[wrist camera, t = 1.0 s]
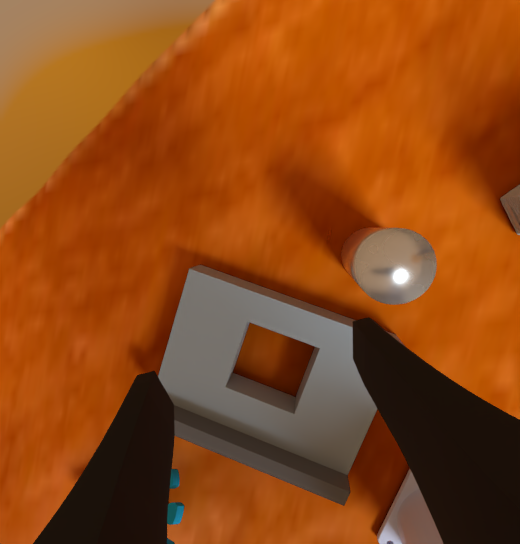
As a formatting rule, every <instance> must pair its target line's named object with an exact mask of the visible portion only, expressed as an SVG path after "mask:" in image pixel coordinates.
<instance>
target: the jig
mask: <svg viewBox="0 0 520 544" xmlns="http://www.w3.org/2000/svg"><path fill="white" fill-rule="evenodd" d="M353 321H356V320H354V319H351V318H348V317H345V316H343V315H340V314H337V313H334V312H331V311H329V310H326V309H323V308H320V307H318V306H315V305H312V304H309V303H306V302H304V301H301V300H298V299H295V298H292V297H290V296H287V295H284V294H281V293H278V292H276V291H273V290H270V289H267V288H264V287H262V286H259V285H256V284H253V283H251V282H248V281H245V280H242V279H239V278H237V277H234V276H231V275H228V274H225V273H223V272H220V271H217V270H214V269H211V268H209V267H206V266H203V265H198V266H195V267H192V268H189V272H188V275H187V278H186V282H185V285H184V289H183V292H182V296H181V299H180V303H179V306H178V309H177V313H176V316H175V320H174V323H173V327H172V330H171V334H170V337H169V341H168V344H167V347H166V351H165V354H164V358H163V361H162V365H161V368H160V372H159V375H158V378H159V380H160V381H161V383H162V385H163V386H164V388H165V390H166V392H167V393H168V395H169V397H170V399H171V400H172V402H173V404H174V425H175V436H177V437H180V438H182V439H184V440H187V441H189V442H192V443H194V444H196V445H199V446H201V447H204V448H206V449H208V450H211V451H213V452H216V453H218V454H221V455H223V456H225V457H228V458H230V459H233V460H235V461H237V462H240V463H242V464H245V465H247V466H249V467H252V468H254V469H257V470H259V471H261V472H264V473H266V474H269V475H271V476H274V477H276V478H278V479H281V480H283V481H286V482H288V483H290V484H293V485H295V486H298V487H300V488H302V489H305V490H307V491H310V492H312V493H315V494H317V495H319V496H322V497H324V498H327V499H329V500H331V501H334V502H336V503H339V504H341V505H343V506H344V505H345V503H346V501H347V498H348V496H349V494H350V487H349V481H348V473H349V471H350V469H351V467H352V464H353V462H354V460H355V458H356V455H357V453H358V451H359V449H360V447H361V444H362V442H363V440H364V438H365V435H366V433H367V431H368V429H369V426H370V424H371V422H372V420H373V418H374V415H375V413H376V411H377V407H376V405H375V403H374V402H373V400H372V398H371V396H370V395H369V393H368V391H367V389H366V387H365V386H364V384H363V381H362V379H361V377H360V375H359V372H358V370H357V367H356V365H355V363H354V360H353ZM249 323H253V324H255V325H258V326H261V327H264V328H266V329H269V330H272V331H274V332H277V333H280V334H282V335H285V336H288V337H291V338H293V339H296V340H299V341H301V342H304V343H307V344H309V345H312V346H315V348H314V350H313V353H312V355H311V358H310V361H309V363H308V366H307V368H306V371H305V374H304V376H303V379H302V381H301V384H300V386H299V389H298V392H297V394H296V397H294V396H292V395H289V394H287V393H284V392H281V391H279V390H276V389H274V388H271V387H269V386H266V385H263V384H261V383H258V382H256V381H253V380H251V379H248V378H245V377H243V376H240V375H238V374H235V373H233V370H234V367H235V364H236V361H237V358H238V355H239V352H240V350H241V347H242V344H243V341H244V338H245V335H246V332H247V329H248V326H249ZM388 333H389V334H390V335H391V336H393V337H394V338H395V339H396V340H398V341H399V342H400V343H401V344H403V343H402V342H401V341H400V339H399V338H398V337H397V336H396V334H393V333H390V332H388ZM403 345H404V344H403ZM404 346H405V345H404Z"/></svg>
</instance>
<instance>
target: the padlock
mask: <svg viewBox="0 0 520 544" xmlns="http://www.w3.org/2000/svg"><path fill="white" fill-rule="evenodd" d="M500 201H501V203H502V205H503V207H504V209H505V211H506V213H507V215H508V217H509V219H510V221H511V223H512V225H513V227H514V229H515V231H516V233H517V234H518V235H520V184H519V185H518V186H517V187H515V188H514V189H512V190H511V191H509V192H508V193H507V194H505V195H504V196H502V197H501V198H500Z"/></svg>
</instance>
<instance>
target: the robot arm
mask: <svg viewBox="0 0 520 544" xmlns="http://www.w3.org/2000/svg"><path fill="white" fill-rule="evenodd" d="M353 360H354V363H355V365H356V367H357V370H358V372H359V375H360V377H361V379H362V381H363V384H364V386H365V387H366V389H367V391H368V393H369V395H370V396H371V398H372V400H373V402H374V403H375V405H376V407H377V409H378V410H379V412H380V414H381V416H382V417H383V419H384V421H385V423H386V424H387V426H388V428H389V430H390V431H391V433H392V435H393V437H394V438H395V440H396V442H397V443H398V445H399V447H400V449H401V451H402V453H403V455H404V457H405V459H406V461H407V463H408V465H409V467H410V469H409V471H408V473H407V475H406V477H405V479H404V481H403V483H402V485H401V487H400V489H399V491H398V493H397V495H396V497H395V499H394V501H393V504H392V506H391V508H390V510H389V512H388V514H387V516H386V518H385V520H384V522H383V524H382V526H381V528H380V530H379V532H378V534H377V539H378V542H379V544H520V420H519V419H517V418H515V417H513V416H511V415H509V414H508V413H506V412H504V411H502V410H500V409H499V408H497V407H495V406H493V405H492V404H490V403H488V402H486V401H485V400H483V399H481V398H480V397H478V396H476V395H475V394H473V393H471V392H470V391H468V390H466V389H465V388H463V387H462V386H460V385H459V384H457V383H455V382H454V381H452V380H451V379H449V378H448V377H446V376H445V375H444V374H442V373H441V372H439V371H438V370H436V369H435V368H433V367H432V366H431V365H429V364H428V363H426V362H425V361H424V360H422V359H421V358H420V357H418V356H417V355H416V354H414V353H413V352H412V351H410V350H409V349H408V348H406V347H405V346H404V345H403V344H401V343H400V342H399V341H398V340H396V339H395V338H394V337H393V336H391V335H390V334H389V333H388V332H387V331H385V330H384V329H383V328H382V327H381V326H379V325H378V324H377V323H376V322H375V321H373V320H372V319H371V318H369V317H368V318H364V319H360V320H356V321H353ZM174 435H175V425H174V404H173V402H172V400H171V399H170V397H169V395H168V393H167V392H166V390H165V388H164V386H163V385H162V383H161V381H160V380H159V378H158V376H157V374H156V373H155V371H153V372H149V373H145V374H141V375H137V377H136V378H135V380H134V382H133V384H132V386H131V388H130V390H129V392H128V394H127V396H126V397H125V399H124V401H123V403H122V405H121V407H120V409H119V411H118V413H117V415H116V416H115V418H114V420H113V422H112V424H111V425H110V427H109V429H108V431H107V433H106V434H105V436H104V438H103V440H102V442H101V443H100V445H99V447H98V448H97V450H96V452H95V453H94V455H93V457H92V458H91V460H90V462H89V463H88V465H87V467H86V468H85V470H84V471H83V473H82V475H81V476H80V478H79V479H78V481H77V482H76V484H75V486H74V487H73V489H72V490H71V492H70V493H69V495H68V496H67V497H66V499H65V500H64V502H63V503H62V505H61V506H60V508H59V509H58V510H57V512H56V513H55V515H54V516H53V517H52V519H51V520H50V522H49V523H48V524H47V526H46V527H45V528H44V530H43V531H42V532H41V534H40V535H39V536H38V538H37V539H36V540H35V542H34V543H33V544H167V514H168V500H169V490H170V479H171V469H172V458H173V447H174ZM389 541H390V542H389Z"/></svg>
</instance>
